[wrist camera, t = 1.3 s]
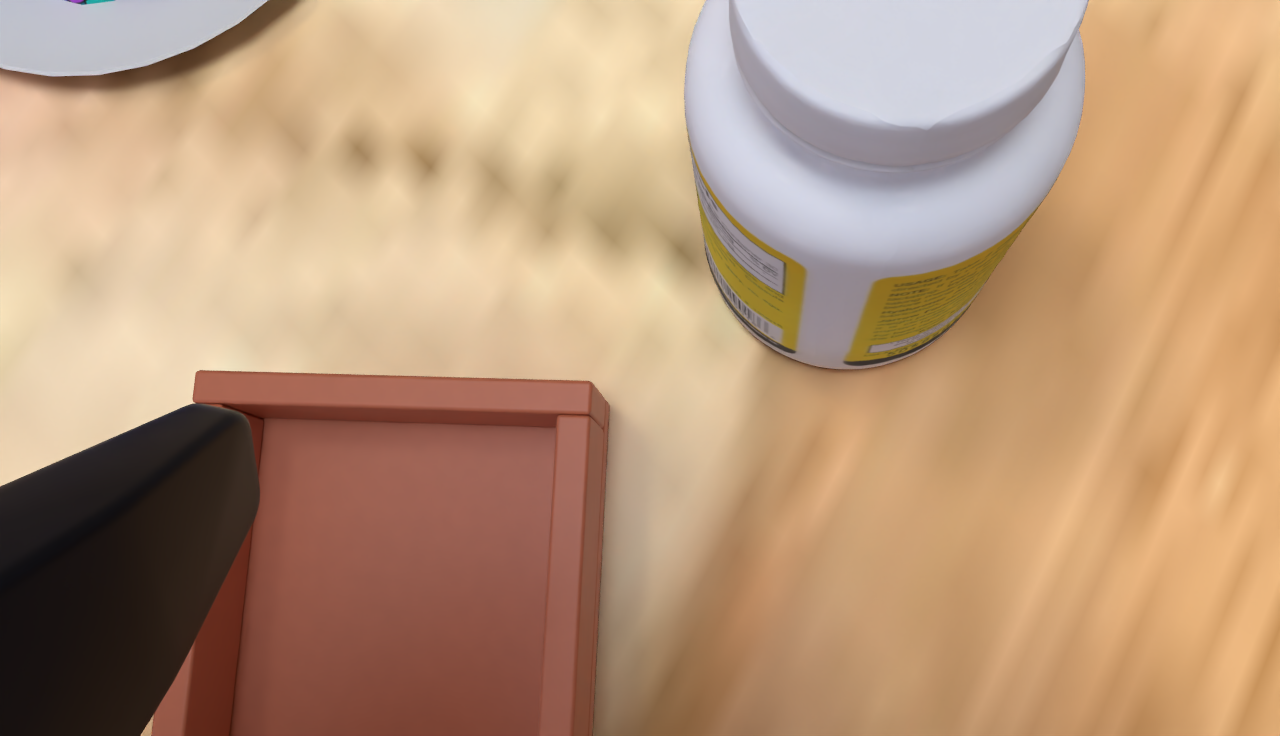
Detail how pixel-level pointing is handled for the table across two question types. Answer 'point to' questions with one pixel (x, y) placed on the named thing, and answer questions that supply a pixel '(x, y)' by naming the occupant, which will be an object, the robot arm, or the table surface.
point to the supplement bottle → (873, 159)
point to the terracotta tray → (406, 561)
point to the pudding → (108, 32)
